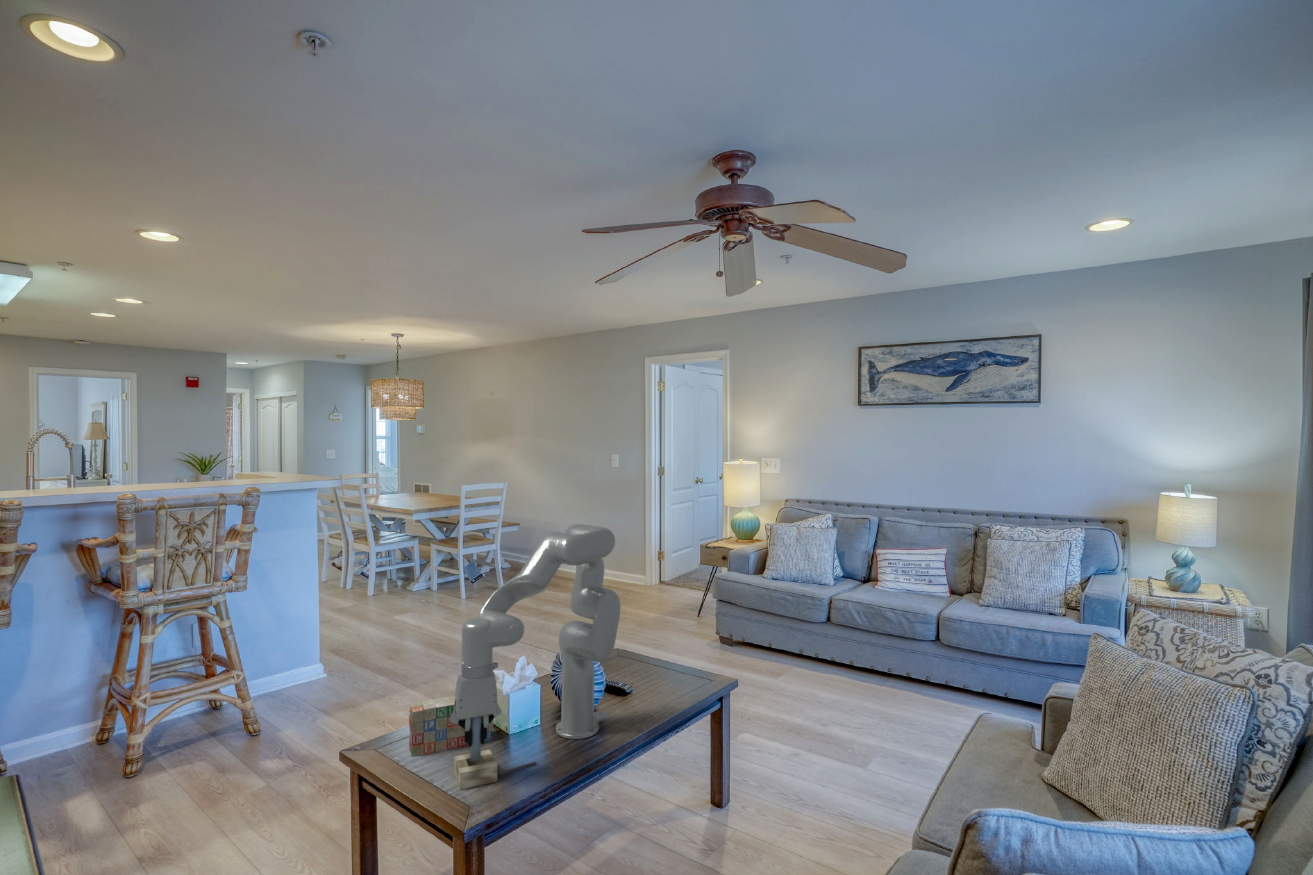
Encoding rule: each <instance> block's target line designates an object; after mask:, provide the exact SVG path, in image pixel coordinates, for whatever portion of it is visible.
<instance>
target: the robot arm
mask: <svg viewBox="0 0 1313 875" xmlns="http://www.w3.org/2000/svg"><path fill="white" fill-rule="evenodd" d="M615 545H616V537H615V534H614V532H613V531H612V530H611V529H608V527H607V528H606V527H603V526H597V525H590V524H583V523H582V524H581V523H580V524H579V523H576V524H571V525H569V526H568V527H567V528H566V529H565V531H564V532H558V531H556V532H555V531H552V532H548V533H546V534H544V535H543V536H542V537H541V539H540V540H539V541H538V544H537V545H536V547H535V548H534V550H533V552H531V554H530V556H529V558H528V559H527V561H526V562H525V564H524V565H523V566H522V569H521V570H520V571H519V573H517V575H515V576H514V577H512V578H511V579H509V580H508V581H507V582H505V583H504V584H502V585H501V586H499V587H498V588H497V589H496V590H495V591H493V593H492V594H491V595H490V596H489V598H488V599H487V600H486V602H485V604H483V607H482V608H481V609H480V611H479V612H478V615H477V617H476V618H474V619H473V618H472V619H469V620H466V621H465V622H464V623H463V625H462V627H461V669H460V670H461V671H460V673H461V674H459V675H457V679H456V684H455V692H454V693H455V694H454V696H455V701H454V710H453V712H452V715H451V717H450V722H451V723H454V724H458V725H460V726H461V727H462V728H463V729H465V732H464V741H465V743H467V744H468V746H467V747H468V748H470V747H471V746H472V730H471V727H470V720H471V718H475V717H480V716H482V722H481V745H485V743H486V742H485V739H487V727H488V726H489V724H490V723H491V721H492V722H493V720H494V719H495V718H498V717H499V716H500V715H501V714H502V712H503V711H502V710H501V706H499V703H498V689H497V680H496V673H495V672H494V670H495V669H498V668H499V663H498V662H494V661H493V651H494V650H493V649H494V648H498V647H509V646H513V645H515V644H517V643H519V642H520V641H521V639H522V638H523V636H524V634H525V625H524V623H523V621H522V620H521V619H520V618H518V617H517V616H514V615H511V614H507V613H508V611H509V610H510V609H511V607H513V606H514V605H515V604H517V603H518V602H520V601H522V600H524V599H526V598H529V597H533V596H536V595H538V594H539V595H540V594H541V593H543V592H545V591H546V589H547V588H548V586H549V585H550V583H551V582H552V579H553V577H555V575H556V574H557V571H558V570H559V568H560V567H561V565H567V566H571V567H573V566H574V567H576V568H575V576H574V581H573V587H572V592H571V598H570V609H571V612H573V614H575V615H576V616H579V617H582V618H585V619H589V620H592V623H590V622H587V621H581V620H570V621H568V622H566V623H564V625H563V626H562V627H561V629H560V631H559V635H558V645H559V646H558V647H559V651H560V656H561V709H560V710H561V712H560V713H561V714H560V715H561V716H560V717H561V720H560V721H559V722H557V724H556V725H555V732H556V734H557V735H558V736H560V737H562V738H565V739H568V740H569V739H570V740H581V739H587V738H589V737H592V736H594V735H596V734H597V733H598V732H599V730H600V724H599V723H600V721H601V722H602V721H608V720H610V719H611V718H610V717H611V716H610V713H609V712H604V713H603V711H602V710H600V711H596V712H595V666H594V662H598V663H601V662H606V661H607V660H608V659H609V658H610V656H611V655H612V654H613V651H614V648H615V644H616V639H617V633H618V628H619V627H618V626H619V623H620V622H619V621H620V617H621V608H622V607H621V599H620V597H619V595H618V593H617V592H616V591H614V590H613V589H610V588H608V587H603V586H604V577H605V563H604V559H603V558H606V557H608V556H609V555H610V554H611V553H612V551H614V548H615Z"/></svg>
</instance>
